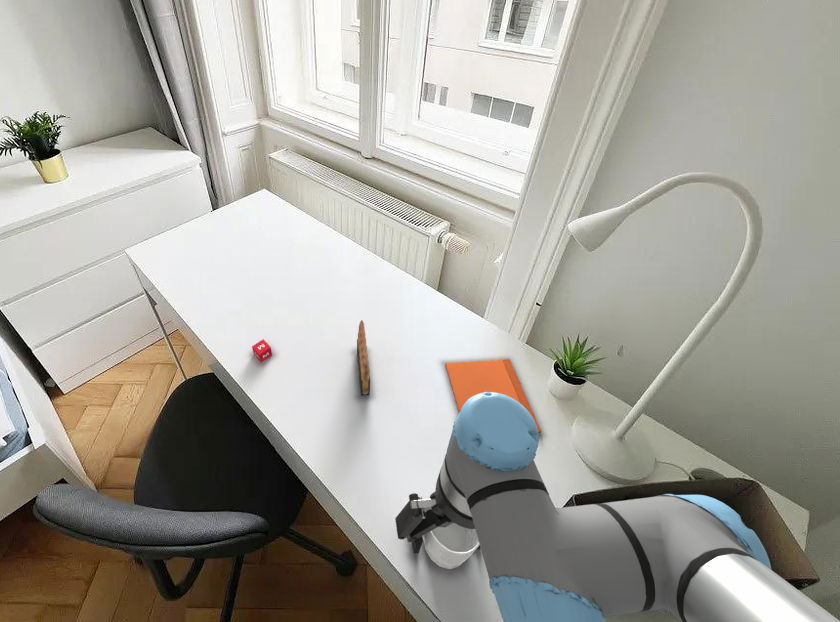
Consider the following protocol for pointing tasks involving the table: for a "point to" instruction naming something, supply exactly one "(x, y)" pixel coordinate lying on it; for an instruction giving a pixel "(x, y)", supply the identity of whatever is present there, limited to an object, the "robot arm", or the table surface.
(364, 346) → the ammunition clip
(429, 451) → the table surface
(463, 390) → the folder
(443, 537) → the white cup
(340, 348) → the table surface
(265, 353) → the dice
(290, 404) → the table surface
